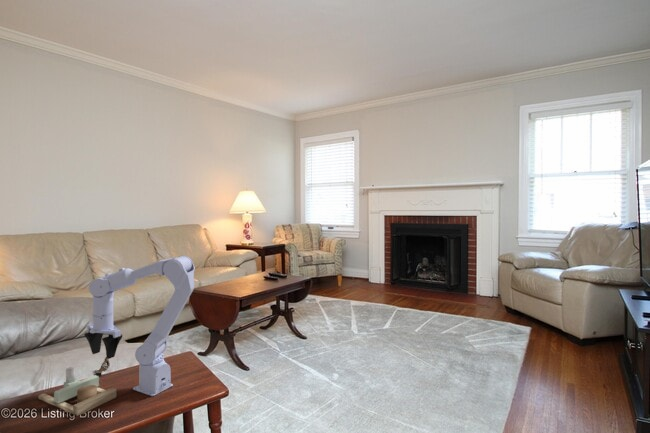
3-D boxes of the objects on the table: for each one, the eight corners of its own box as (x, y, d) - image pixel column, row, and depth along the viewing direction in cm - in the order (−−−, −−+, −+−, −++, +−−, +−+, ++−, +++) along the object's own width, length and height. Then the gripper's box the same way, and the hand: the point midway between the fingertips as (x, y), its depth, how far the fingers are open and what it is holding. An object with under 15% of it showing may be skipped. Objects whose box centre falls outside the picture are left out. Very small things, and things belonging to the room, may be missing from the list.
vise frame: (116, 397, 114) (116, 389, 114) (77, 415, 104) (77, 407, 104) (77, 382, 123) (77, 375, 123) (38, 398, 113) (38, 390, 113)
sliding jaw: (98, 385, 118) (98, 364, 118) (58, 403, 108) (58, 379, 107) (88, 381, 121) (87, 360, 121) (47, 398, 110) (46, 375, 110)
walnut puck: (100, 400, 113) (100, 387, 112) (83, 408, 108) (83, 394, 108) (90, 396, 115) (90, 383, 115) (73, 404, 110) (73, 390, 110)
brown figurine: (112, 363, 137) (110, 354, 135) (103, 381, 129) (100, 372, 127) (107, 363, 136) (105, 354, 134) (97, 381, 129) (95, 372, 127)
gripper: (77, 313, 120) (77, 355, 120) (105, 320, 113) (105, 364, 114) (98, 308, 126) (98, 348, 126) (126, 314, 120) (126, 356, 120)
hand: (103, 355), depth 120 cm, fingers open, 7 cm apart
